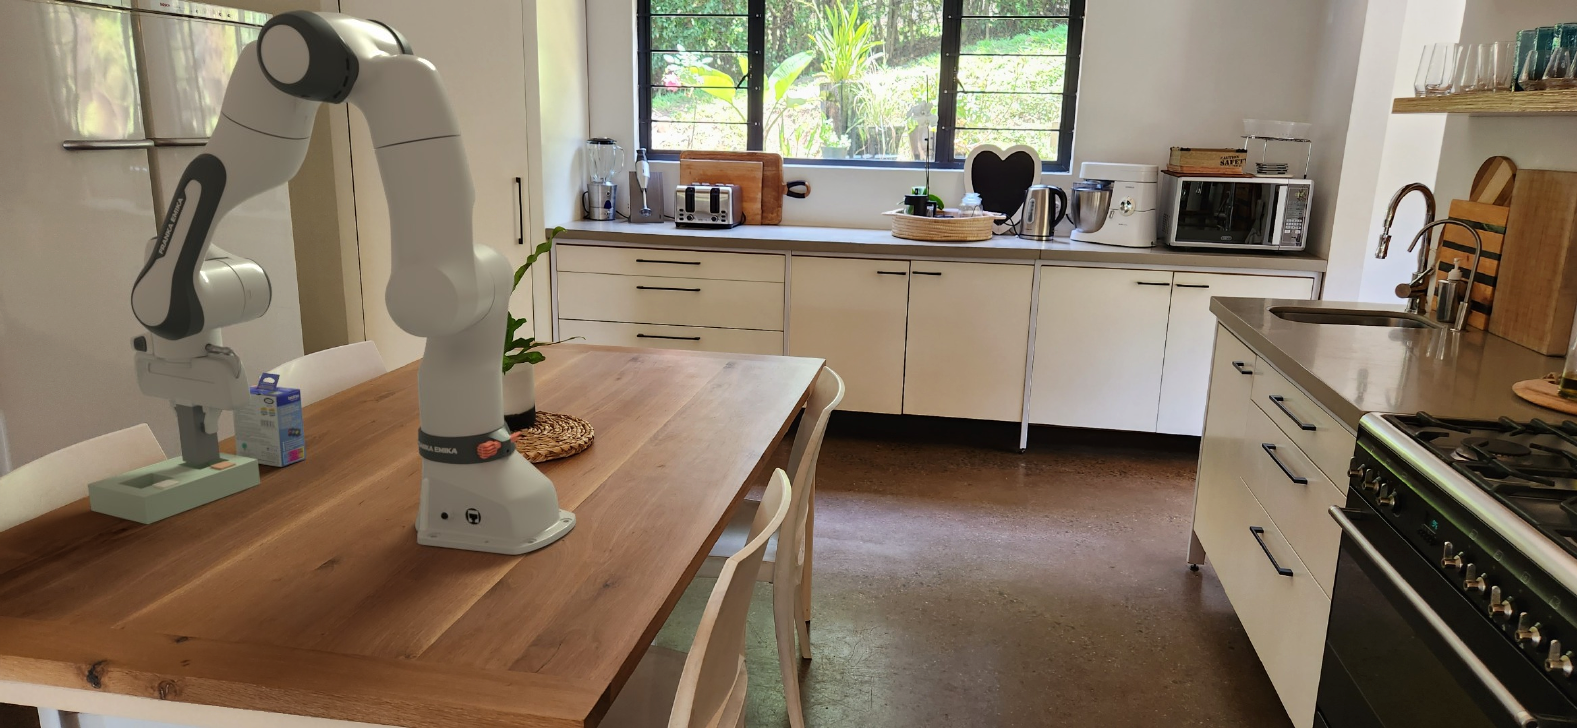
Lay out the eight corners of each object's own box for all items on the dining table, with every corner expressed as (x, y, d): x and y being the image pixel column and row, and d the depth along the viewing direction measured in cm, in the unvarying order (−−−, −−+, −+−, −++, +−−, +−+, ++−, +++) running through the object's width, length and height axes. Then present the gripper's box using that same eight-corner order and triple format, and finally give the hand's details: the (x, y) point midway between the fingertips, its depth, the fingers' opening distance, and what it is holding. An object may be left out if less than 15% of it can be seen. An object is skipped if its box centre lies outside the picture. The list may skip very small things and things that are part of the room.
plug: (219, 457, 152) (212, 394, 150) (198, 464, 149) (191, 400, 147) (204, 454, 154) (196, 392, 151) (182, 460, 151) (175, 397, 148)
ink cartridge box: (309, 458, 167) (300, 374, 163) (283, 468, 161) (274, 382, 158) (262, 451, 170) (253, 369, 166) (235, 461, 164) (226, 376, 161)
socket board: (260, 483, 154) (257, 457, 153) (147, 524, 138) (143, 495, 137) (206, 472, 159) (203, 446, 158) (91, 510, 143) (87, 482, 142)
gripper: (256, 344, 146) (266, 434, 149) (162, 330, 154) (172, 416, 157) (217, 352, 141) (228, 445, 144) (121, 338, 148) (133, 426, 151)
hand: (198, 430), depth 151 cm, fingers closed on plug, 3 cm apart
